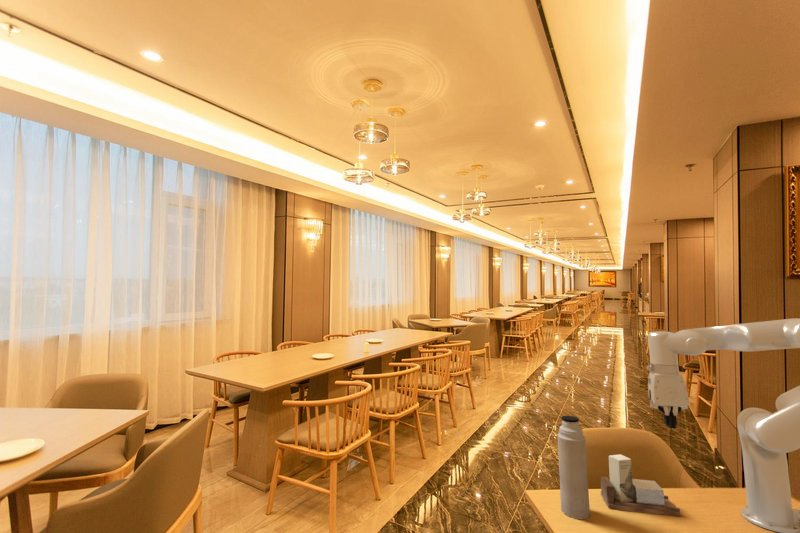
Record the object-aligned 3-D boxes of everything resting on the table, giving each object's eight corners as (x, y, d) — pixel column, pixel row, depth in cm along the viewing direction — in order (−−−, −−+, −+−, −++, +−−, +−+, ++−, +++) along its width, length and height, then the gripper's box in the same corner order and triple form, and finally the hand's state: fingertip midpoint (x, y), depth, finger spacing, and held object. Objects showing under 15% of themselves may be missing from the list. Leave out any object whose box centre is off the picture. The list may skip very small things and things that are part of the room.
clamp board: (667, 502, 119) (666, 481, 119) (680, 516, 111) (678, 494, 111) (600, 495, 123) (599, 475, 124) (608, 508, 115) (607, 487, 116)
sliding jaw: (655, 497, 119) (654, 480, 119) (664, 507, 113) (663, 490, 113) (629, 494, 121) (628, 478, 121) (637, 504, 114) (636, 487, 115)
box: (621, 503, 116) (618, 460, 117) (610, 496, 120) (607, 455, 121) (634, 501, 117) (631, 458, 118) (623, 494, 121) (620, 453, 123)
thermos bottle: (585, 506, 117) (580, 414, 120) (593, 520, 109) (587, 421, 112) (558, 503, 118) (554, 412, 121) (564, 517, 110) (559, 420, 113)
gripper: (644, 371, 120) (650, 430, 118) (697, 371, 117) (704, 432, 115) (635, 367, 128) (640, 422, 125) (684, 367, 124) (691, 424, 122)
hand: (670, 427), depth 120 cm, fingers closed
